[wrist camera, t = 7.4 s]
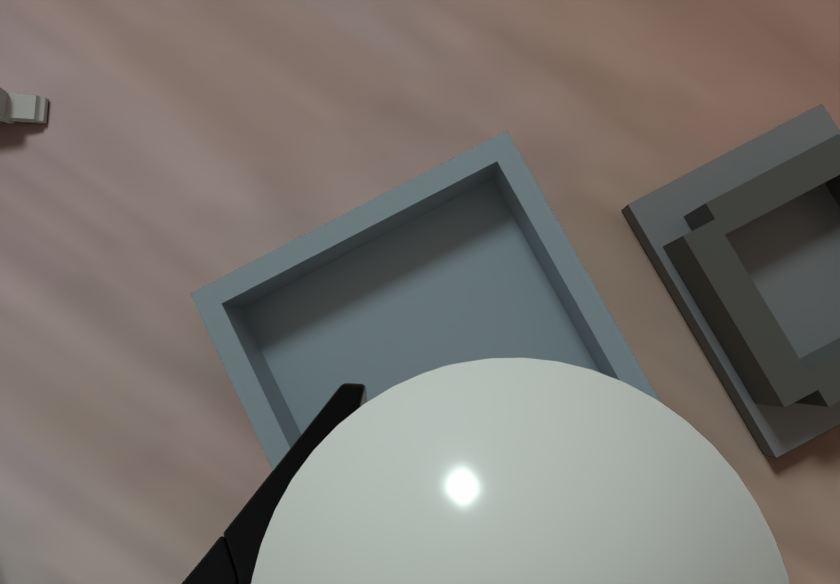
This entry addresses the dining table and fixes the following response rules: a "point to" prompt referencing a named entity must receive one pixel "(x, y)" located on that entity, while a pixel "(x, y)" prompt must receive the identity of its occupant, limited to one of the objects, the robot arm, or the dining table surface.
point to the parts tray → (410, 295)
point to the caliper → (22, 108)
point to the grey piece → (760, 273)
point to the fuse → (516, 489)
